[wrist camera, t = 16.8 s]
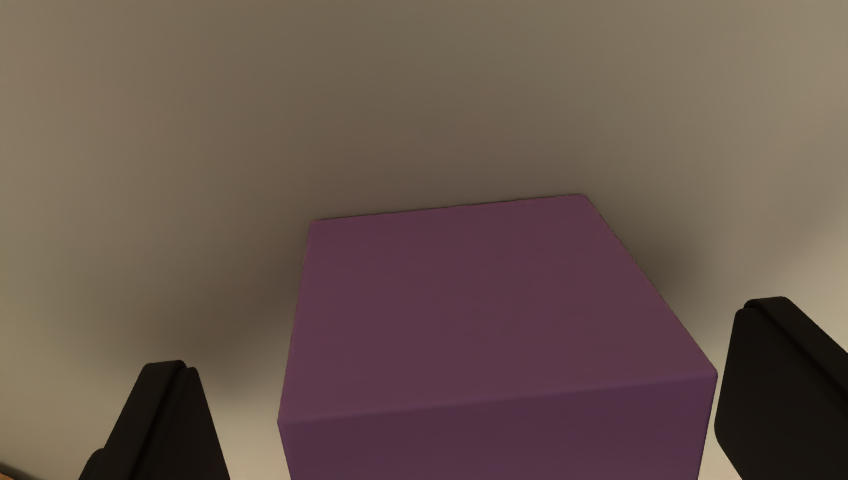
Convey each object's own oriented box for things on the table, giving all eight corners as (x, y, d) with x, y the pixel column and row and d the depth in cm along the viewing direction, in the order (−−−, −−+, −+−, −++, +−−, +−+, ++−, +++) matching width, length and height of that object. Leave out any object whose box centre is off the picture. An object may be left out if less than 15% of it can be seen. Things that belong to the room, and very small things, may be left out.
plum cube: (309, 219, 11) (274, 422, 7) (585, 192, 12) (721, 372, 7) (345, 426, 14) (337, 674, 9) (573, 400, 14) (670, 630, 10)
